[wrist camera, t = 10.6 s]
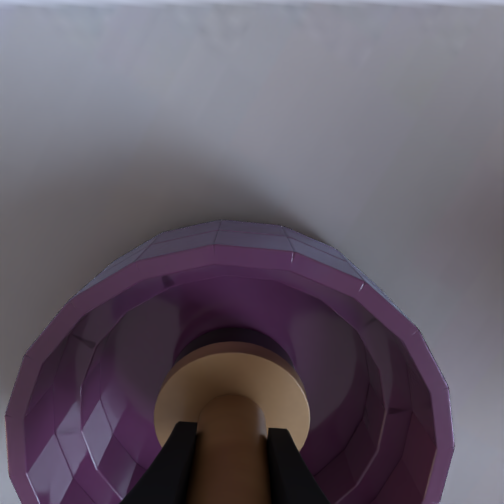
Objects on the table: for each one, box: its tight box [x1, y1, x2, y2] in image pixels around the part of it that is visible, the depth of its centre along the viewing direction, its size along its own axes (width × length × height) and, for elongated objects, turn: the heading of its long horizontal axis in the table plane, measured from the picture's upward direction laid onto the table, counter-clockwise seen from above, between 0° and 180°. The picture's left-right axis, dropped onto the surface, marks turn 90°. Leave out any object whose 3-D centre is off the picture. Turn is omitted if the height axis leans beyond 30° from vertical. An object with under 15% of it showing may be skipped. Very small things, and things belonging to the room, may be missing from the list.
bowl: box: [5, 220, 455, 504], centre depth 15 cm, size 14×14×4 cm
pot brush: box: [154, 328, 310, 504], centre depth 13 cm, size 6×6×7 cm
